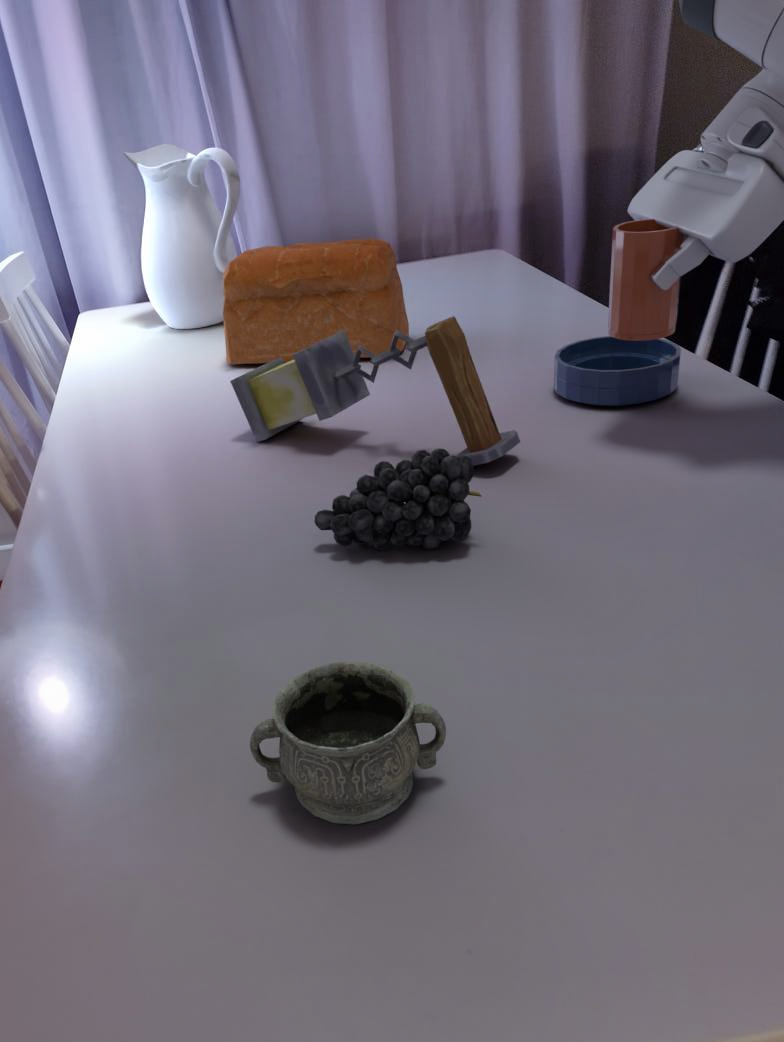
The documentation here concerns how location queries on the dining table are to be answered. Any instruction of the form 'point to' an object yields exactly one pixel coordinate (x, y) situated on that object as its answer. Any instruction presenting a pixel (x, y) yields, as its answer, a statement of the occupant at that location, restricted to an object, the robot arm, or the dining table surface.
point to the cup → (642, 281)
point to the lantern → (337, 383)
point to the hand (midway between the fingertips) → (639, 276)
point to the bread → (312, 299)
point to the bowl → (616, 371)
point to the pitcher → (185, 234)
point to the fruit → (423, 519)
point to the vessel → (348, 740)
